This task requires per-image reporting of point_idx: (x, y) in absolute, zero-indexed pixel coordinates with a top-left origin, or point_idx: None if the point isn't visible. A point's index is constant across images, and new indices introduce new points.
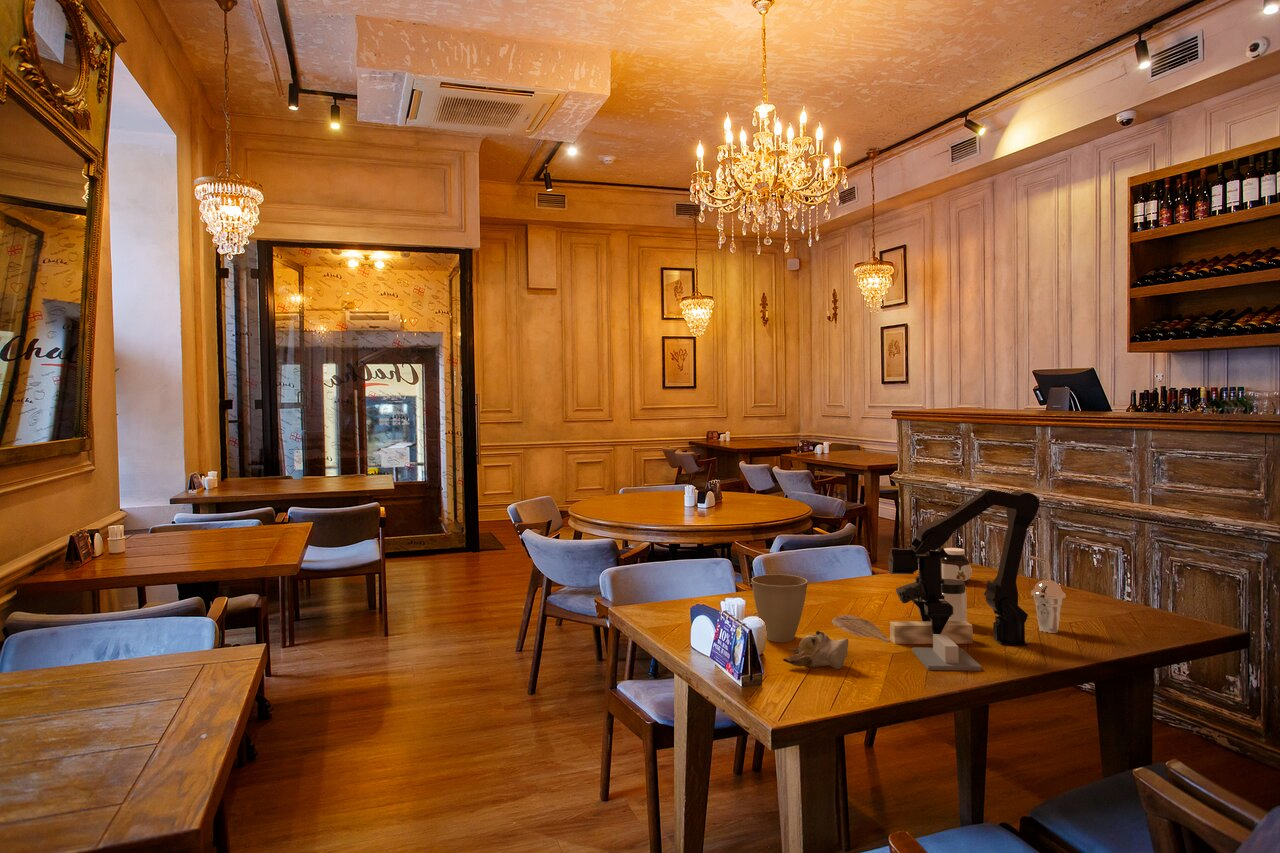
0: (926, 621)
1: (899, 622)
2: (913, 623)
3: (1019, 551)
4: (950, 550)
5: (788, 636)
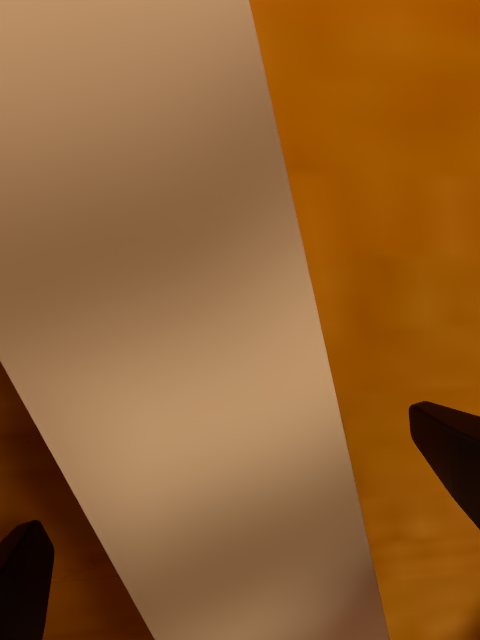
0: (353, 520)
1: (165, 30)
2: (173, 346)
3: None
4: None
5: None
